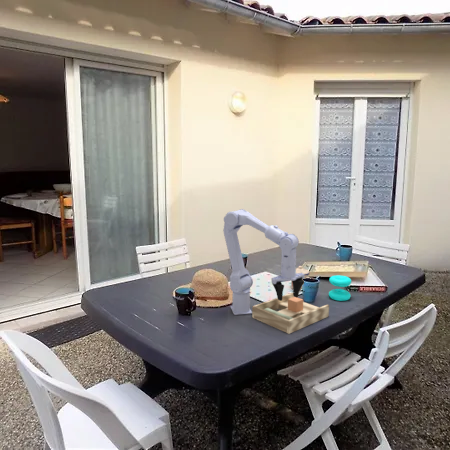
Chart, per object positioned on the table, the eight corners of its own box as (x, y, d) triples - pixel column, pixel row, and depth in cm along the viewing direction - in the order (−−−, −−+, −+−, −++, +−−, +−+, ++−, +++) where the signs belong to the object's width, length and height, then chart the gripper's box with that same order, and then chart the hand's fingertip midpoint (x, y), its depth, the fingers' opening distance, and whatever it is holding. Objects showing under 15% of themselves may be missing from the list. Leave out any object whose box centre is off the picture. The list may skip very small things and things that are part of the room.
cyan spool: (347, 282, 176) (326, 278, 182) (346, 303, 178) (325, 298, 183) (354, 276, 184) (333, 273, 190) (353, 296, 186) (332, 292, 191)
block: (296, 312, 161) (296, 302, 160) (287, 309, 165) (288, 299, 164) (303, 309, 164) (303, 299, 163) (294, 306, 167) (295, 296, 167)
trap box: (288, 333, 147) (289, 321, 147) (252, 317, 163) (252, 306, 162) (328, 316, 163) (329, 305, 162) (291, 303, 178) (292, 292, 177)
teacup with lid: (287, 287, 199) (287, 265, 197) (299, 284, 204) (300, 262, 202) (304, 294, 189) (305, 271, 187) (317, 290, 195) (317, 268, 193)
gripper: (278, 270, 147) (278, 304, 149) (309, 265, 153) (308, 298, 155) (268, 265, 153) (268, 298, 155) (298, 261, 159) (297, 292, 162)
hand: (287, 298), depth 156 cm, fingers open, 7 cm apart
